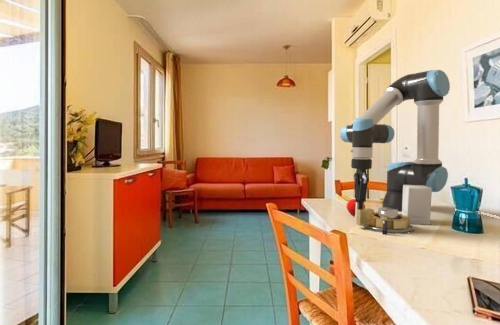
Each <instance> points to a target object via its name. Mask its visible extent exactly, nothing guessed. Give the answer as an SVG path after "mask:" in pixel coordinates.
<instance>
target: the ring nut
mask: <svg viewBox="0 0 500 325" xmlns="http://www.w3.org/2000/svg"><path fill="white" fill-rule="evenodd" d="M383 220H388V225H387V229H391V228H392V229H406V228H408V227H409V225H411V224H410V217H409V215H402V213H398V219H388V216H381V217H380V218H378V211H375V210H374V209H372V208H371V207H370V208H365V209H357V218H356V225H357V226H359V227H360V226H361V227H364V226H368V225H372V226H376V227H381V228H383Z"/></svg>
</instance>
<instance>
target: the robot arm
mask: <svg viewBox="0 0 500 325" xmlns="http://www.w3.org/2000/svg"><path fill="white" fill-rule="evenodd" d="M450 89H451V85H450V79H449V76H448V75H447V74H446V72H445V71H443V70H441V69H432V70H431V69H430V70H426V71H419V72H416V73H409V74H406V75H404V76H401V77H400V78H398V79H397V80H395V81H393V82H392V83H390V85H389V86H388V87H386V89H385V90H384V91H383V94H382V95H381V96H380V97H379V98H378V99H377V100H376V101H375V102H374V103H373V104H372V105H371V106H370V107H369V108H368V109H366V111H364V112H363V113H362V115H361V114H360V116H359V117H358V118H355V119H354V120H353V123H352V124H347V125H344V126H342V128H341V129H340V132H339V138H340V139H341V141H342V142H344V143H350V144H352V145H351V148H352V149H350V153H351V158H352V159H351V162H350V164H351V166H350V167H351V168H352V169H355V173H354V174H353V179H354V199H356V200H355V202H356V213H355V216H354V217H355V219H357V209H364V205H365V203H366V201H367V192H368V184H369V177H368V173H367V170H371V169H372V168H373V164H372V162H373V160H372V158H373V144H389V143H391V142H392V141H393V140H394V138H395V129H394V128H393V126H391V125H389V124H385V123H384V124H379V122H380V121H382V119H384V118H385V117H386V115H388V113H389V112H391V111H392V110H393V109H394V108H395V107H396V106H399V105H400V104H402V103H403V102H404V101H409V100H413V103H414V104H415V105H416V106H417V116H416V117H417V119H416V120H417V121H416V122H417V124H416V126H417V130H416V133H417V136H416V139H417V140H416V159H415V160H414V161H404V162H403V161H402V162H399V161H398V162H390V163H389V164H388V165H387V170H386V192H385V195H384V198H383V200H382V203H381V205H382V207H387V208H394V209H397V210H398V212H402V198H403V185H424V186H427V187H429V188H432V193H438V192H441V191H442V190H443V189H444V187H445V186H446V185H447V183H448V182H447V181H448V178H449V172H448V169H447V168H446V167H445V166H443V161H441V160H440V158H439V148H440V147H439V144H440V143H439V141H440V140H439V139H440V138H439V135H440V105H441V103H443V102H444V97H446V96H447V95H448V94H449V92H450Z"/></svg>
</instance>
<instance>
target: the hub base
mask: <svg viewBox="0 0 500 325" xmlns="http://www.w3.org/2000/svg"><path fill="white" fill-rule="evenodd" d="M377 210H378V211H377V212H378V218H380V217H381V216H388V219H398V214H399V211H398V210H397V209H394V208H387V207H378V209H377ZM387 225H388V220H383V228H381V227H376V226H372V225H368V226H363V227H364V228H366V229H367V230H371V231H375V232H378V231H379V233H382V235H384V234H385V235H384V236H386V234H387V235H388V234H395V233H402V234H409V233H412V232H414V226H413V224H412V225H411V224H410V225H409V227H408V228H406V229H392V228H391V229H387ZM411 231H412V232H411ZM408 232H409V233H408Z"/></svg>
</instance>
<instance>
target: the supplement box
mask: <svg viewBox="0 0 500 325" xmlns="http://www.w3.org/2000/svg"><path fill="white" fill-rule="evenodd" d="M432 193H433V192H432V188H429V187H427V186H424V185H403V198H402V211H401V214H402V215H409V217H410V225H411V224H412V225H414V224H415V225H429V226H430V225H431V215H432V214H431V210H432Z"/></svg>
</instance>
